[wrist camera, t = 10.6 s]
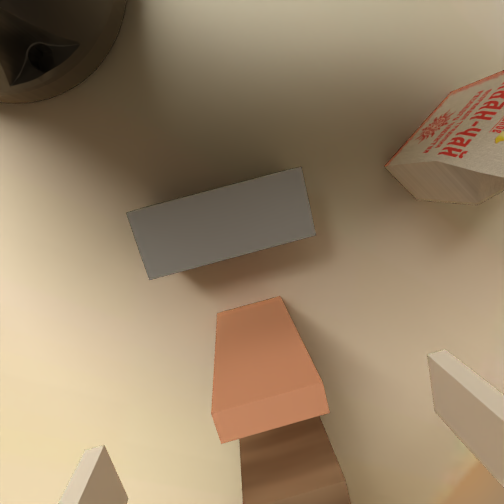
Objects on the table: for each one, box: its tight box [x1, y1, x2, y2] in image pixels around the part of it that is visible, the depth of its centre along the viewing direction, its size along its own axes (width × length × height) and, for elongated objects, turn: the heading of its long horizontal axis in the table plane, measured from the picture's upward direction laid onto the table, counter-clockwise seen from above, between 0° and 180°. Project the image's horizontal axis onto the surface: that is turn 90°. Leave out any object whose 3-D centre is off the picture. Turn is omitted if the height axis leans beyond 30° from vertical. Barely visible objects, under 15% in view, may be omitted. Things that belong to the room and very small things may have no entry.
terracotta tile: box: [211, 296, 330, 444], centre depth 19 cm, size 2×5×11 cm, turn 104°
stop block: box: [126, 167, 316, 280], centre depth 21 cm, size 4×10×5 cm, turn 104°
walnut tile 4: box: [239, 416, 351, 504], centre depth 21 cm, size 2×5×11 cm, turn 104°
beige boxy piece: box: [384, 70, 504, 205], centre depth 18 cm, size 4×7×10 cm, turn 139°
